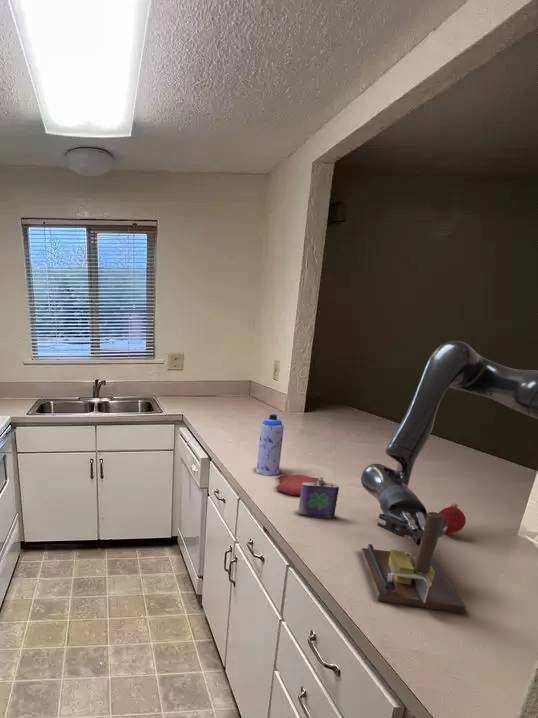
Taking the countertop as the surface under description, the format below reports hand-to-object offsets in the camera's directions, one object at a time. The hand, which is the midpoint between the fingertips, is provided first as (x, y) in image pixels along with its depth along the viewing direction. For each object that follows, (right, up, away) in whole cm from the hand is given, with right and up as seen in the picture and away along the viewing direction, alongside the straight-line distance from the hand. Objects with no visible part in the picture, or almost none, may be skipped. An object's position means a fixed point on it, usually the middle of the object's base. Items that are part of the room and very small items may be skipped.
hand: (425, 543), depth 81 cm
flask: (-5, +2, +37) cm, 38 cm away
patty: (-2, +9, +56) cm, 57 cm away
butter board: (+1, -9, +8) cm, 12 cm away
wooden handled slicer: (-3, -9, +1) cm, 10 cm away
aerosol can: (-8, +14, +70) cm, 72 cm away
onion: (+23, -2, +26) cm, 35 cm away
